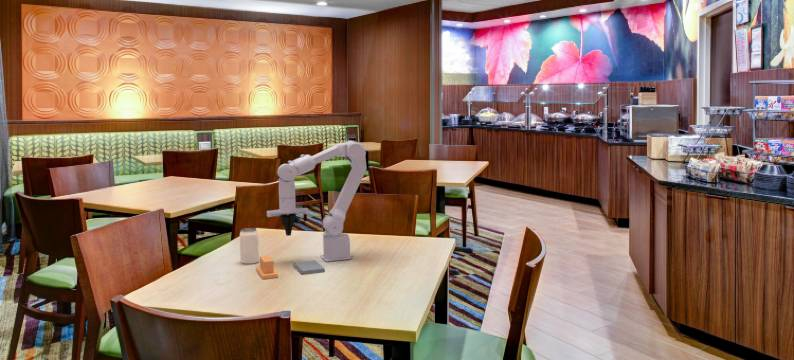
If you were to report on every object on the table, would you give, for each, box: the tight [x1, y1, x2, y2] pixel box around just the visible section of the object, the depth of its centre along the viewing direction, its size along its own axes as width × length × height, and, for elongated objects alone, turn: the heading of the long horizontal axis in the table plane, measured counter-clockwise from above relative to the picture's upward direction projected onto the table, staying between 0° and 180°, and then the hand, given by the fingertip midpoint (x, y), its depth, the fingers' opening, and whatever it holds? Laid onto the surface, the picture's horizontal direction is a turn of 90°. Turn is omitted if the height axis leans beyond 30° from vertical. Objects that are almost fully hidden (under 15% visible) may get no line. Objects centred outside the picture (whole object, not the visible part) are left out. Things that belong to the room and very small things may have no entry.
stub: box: [255, 255, 279, 280], centre depth 206 cm, size 5×12×5 cm, turn 23°
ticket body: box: [292, 259, 326, 275], centre depth 212 cm, size 8×12×1 cm, turn 23°
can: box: [239, 227, 260, 265], centre depth 221 cm, size 6×6×12 cm
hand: (288, 235), depth 220 cm, fingers closed
